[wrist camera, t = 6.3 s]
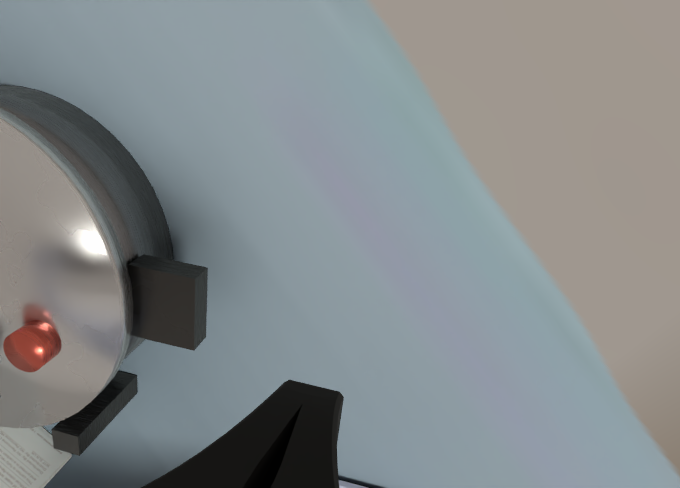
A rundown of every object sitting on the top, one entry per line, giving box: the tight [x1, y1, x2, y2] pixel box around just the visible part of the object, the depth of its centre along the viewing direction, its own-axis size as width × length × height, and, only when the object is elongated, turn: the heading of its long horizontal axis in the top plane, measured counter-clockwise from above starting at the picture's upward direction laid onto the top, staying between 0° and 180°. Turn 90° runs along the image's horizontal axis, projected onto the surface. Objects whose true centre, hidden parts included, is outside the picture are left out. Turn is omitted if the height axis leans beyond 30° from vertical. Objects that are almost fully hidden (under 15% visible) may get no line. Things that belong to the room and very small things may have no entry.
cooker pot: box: [0, 85, 208, 456], centre depth 23 cm, size 14×18×4 cm
